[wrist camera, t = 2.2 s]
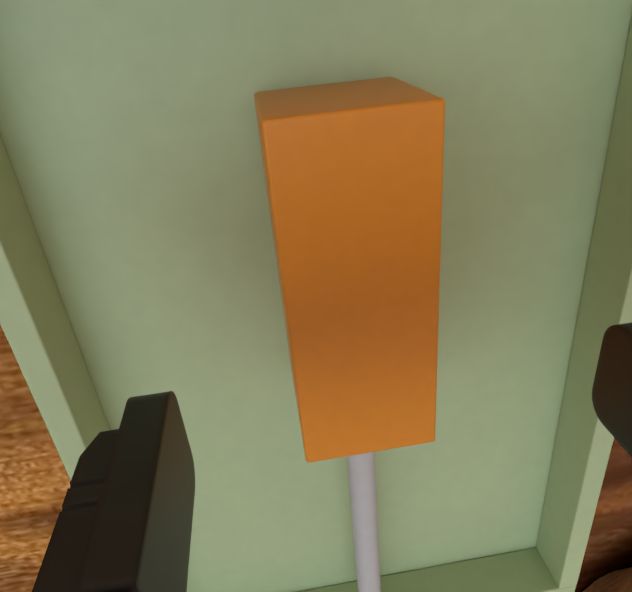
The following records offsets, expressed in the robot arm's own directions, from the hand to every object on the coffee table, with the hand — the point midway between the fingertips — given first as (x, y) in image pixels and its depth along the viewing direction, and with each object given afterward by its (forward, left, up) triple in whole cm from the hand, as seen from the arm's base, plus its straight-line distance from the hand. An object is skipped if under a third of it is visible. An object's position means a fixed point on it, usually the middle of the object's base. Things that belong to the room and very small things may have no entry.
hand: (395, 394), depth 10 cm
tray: (+4, 0, -7) cm, 8 cm away
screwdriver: (+5, 0, -7) cm, 9 cm away
